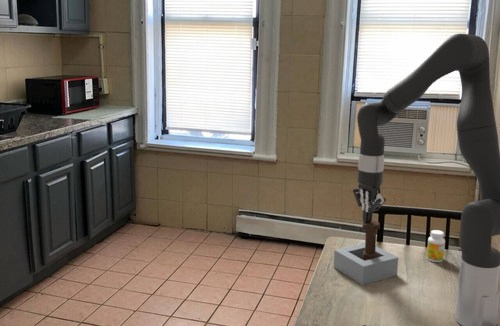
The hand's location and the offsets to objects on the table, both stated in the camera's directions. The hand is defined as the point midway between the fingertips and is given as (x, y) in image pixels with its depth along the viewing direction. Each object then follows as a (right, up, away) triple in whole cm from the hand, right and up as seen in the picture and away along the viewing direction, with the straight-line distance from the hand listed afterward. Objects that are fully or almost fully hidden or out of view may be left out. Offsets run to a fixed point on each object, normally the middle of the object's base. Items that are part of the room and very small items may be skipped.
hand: (366, 222), depth 164 cm
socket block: (0, -16, +4) cm, 17 cm away
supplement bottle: (+26, -14, +13) cm, 32 cm away
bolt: (+1, -15, +2) cm, 15 cm away
